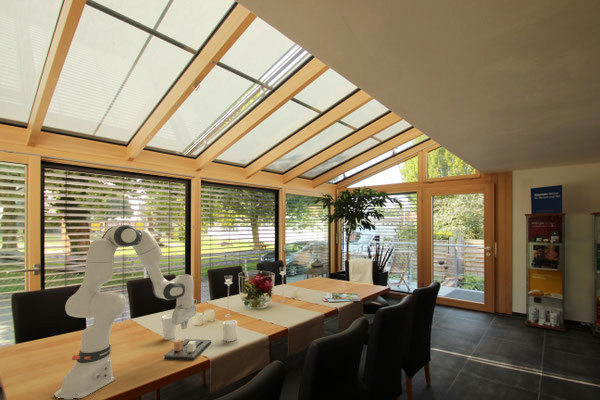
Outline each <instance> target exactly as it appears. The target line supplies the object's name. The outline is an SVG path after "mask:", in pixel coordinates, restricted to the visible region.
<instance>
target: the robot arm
mask: <svg viewBox="0 0 600 400" xmlns="http://www.w3.org/2000/svg"><path fill="white" fill-rule="evenodd" d="M128 247H129V248H130V247H132V249H133V250H134V251H135V254H136V255H137V257H138V259H139V260H140V262H141V263H142V265H143V267H144V268H145V271H146V272H147V274H148V277H149V279H150V282H151V283H152V293H153V295H154V296H155V297H156V298H157V299H163V300H166V301H172V300H173V301H174V300H176V305H175V308H174V309H173V311H172V314H173V315H172V324H173V325H177V326H178V325H180V326H181V328H180V329H181V330H186V329H187V328H188V323H189V320H190V319H192V318H194V317H196V315H197V304H198V300H197V299H194V277H193V276H192V274H185V273H180V274H178V275H177V276H176V277H174V278H173V279H171V280H168V279H166V278H165V277H164V275H163V273H162V271H161V269H160V266H159V262H160V261H161V260H162V259H163V251H162V249H161V247H160V245H159V243H158V241H157V239H156V238H155V237H154V235H153V234H152V232H150V231H149V230H148V229H144V228H143V229H142V228H141V229H137V228H136V227H134V226H133V225H129V224H119V225H118V224H117V225H115V226H112V227H109V228H108V229H107V230H106V231H105V233H104V234H103V235H102V236H101V238H96V239H94V240H92V241H91V242H90V244H89V246H88V250H87V254H86V261H85V269H84V270H85V271H84V277H83V281H82V283H81V285H80V287H79V288H78V289H77V291H76V292H75V293H74V294H72V295H71V296H69V298H68V299H67V301H66V303H65V306H64V308H65V309H64V310H65V313H66V315H67V316H70V317H74V318H79V319H82V318H93V321H92V322H93V323H92V324H90V325H89V326H88V327H86V328H85V329H84V330H83V331H82V332H81V335H80V350H79V352H78V354H74V355H72V357H71V360H72V361H76V362H75V364H74V365H73V366H72V367H71V369H70V370H69V371H68V372H67V373H66V375H65V376H64V377H63V379H62V382H61V387H60V388H59V389H58V390H57V391H55V392H54V393H53V396H54V395H55V396H56V397H58V398H64V399H63V400H74V399H73V398H78V399H83V398H86V397H87V396H89V395H90V393H91V394H92V393H94V392H96V391H98V390H99V389H101V388H103V387H105V386H107V385H108V384H111V383H112V382H114V380H115V377H114V374H113V367H112V366H113V365H112V359H111V351H112V348H111V343H110V342H111V341H110V340H111V331H112V327H113V324H114V322H115V320H116V319H117V318H118V317H119V316H121V314H123V313H124V312H125V310H126V308H127V305H128V299H127V297H126V296H125V294H123V293H120V292H114V291H107V292H106V291H104V292H101V289H102V286H103V285H105V284H107V283H108V282H110V281H111V280H112V279H113V277H114V265H115V264H114V263H115V254H116V251H117V249H119V248H128ZM58 398H57V399H58Z"/></svg>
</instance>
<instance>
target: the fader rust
mask: <svg viewBox="0 0 600 400" xmlns="http://www.w3.org/2000/svg"><path fill="white" fill-rule="evenodd" d="M183 341H184V339H177V340H176V341H174V347H173V348H174V351H180V350H181V349H183Z"/></svg>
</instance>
